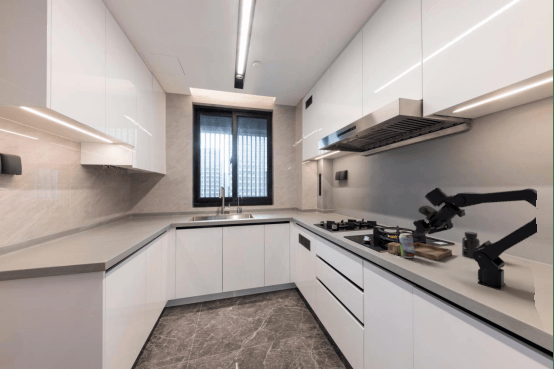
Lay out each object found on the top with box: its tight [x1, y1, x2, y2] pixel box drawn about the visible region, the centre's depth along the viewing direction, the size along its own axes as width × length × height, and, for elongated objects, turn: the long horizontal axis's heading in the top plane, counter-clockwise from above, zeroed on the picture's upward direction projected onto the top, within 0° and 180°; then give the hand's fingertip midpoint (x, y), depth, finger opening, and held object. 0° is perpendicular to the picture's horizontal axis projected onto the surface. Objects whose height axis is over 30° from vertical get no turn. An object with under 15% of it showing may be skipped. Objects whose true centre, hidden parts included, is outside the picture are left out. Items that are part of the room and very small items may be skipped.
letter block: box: [387, 241, 401, 256], centre depth 126 cm, size 5×5×5 cm
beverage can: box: [398, 233, 416, 259], centre depth 120 cm, size 6×7×12 cm
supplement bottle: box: [461, 231, 481, 259], centre depth 118 cm, size 7×7×12 cm
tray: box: [413, 242, 453, 262], centre depth 124 cm, size 17×15×2 cm
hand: (421, 234), depth 112 cm, fingers open, 9 cm apart
